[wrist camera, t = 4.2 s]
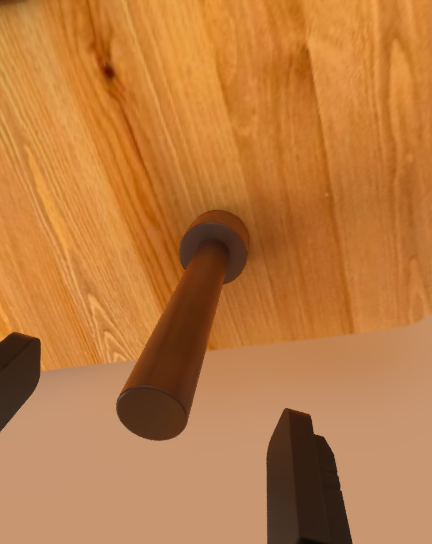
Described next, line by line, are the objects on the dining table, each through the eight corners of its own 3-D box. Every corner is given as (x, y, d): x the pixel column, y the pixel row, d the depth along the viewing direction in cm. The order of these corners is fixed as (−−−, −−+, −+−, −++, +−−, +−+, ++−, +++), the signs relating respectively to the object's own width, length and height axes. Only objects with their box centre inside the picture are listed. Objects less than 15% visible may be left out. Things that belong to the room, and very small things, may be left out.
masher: (256, 219, 24) (241, 380, 9) (239, 274, 25) (206, 481, 11) (195, 202, 24) (84, 336, 9) (183, 259, 26) (76, 443, 11)
